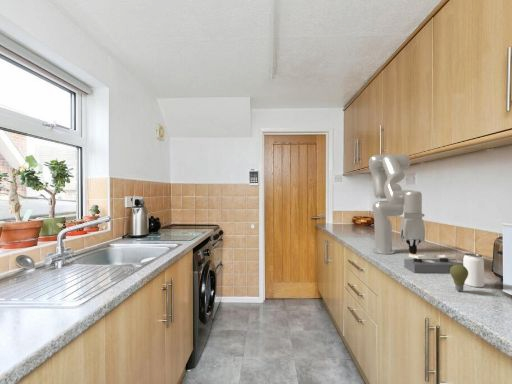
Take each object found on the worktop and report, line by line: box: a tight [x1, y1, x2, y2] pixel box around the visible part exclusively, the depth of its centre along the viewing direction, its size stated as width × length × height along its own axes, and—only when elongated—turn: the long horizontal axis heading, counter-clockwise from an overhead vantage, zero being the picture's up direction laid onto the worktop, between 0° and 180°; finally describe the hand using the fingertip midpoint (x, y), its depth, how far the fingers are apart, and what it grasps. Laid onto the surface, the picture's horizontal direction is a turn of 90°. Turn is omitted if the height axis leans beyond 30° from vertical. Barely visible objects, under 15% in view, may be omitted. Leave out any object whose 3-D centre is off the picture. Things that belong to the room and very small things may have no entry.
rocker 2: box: [433, 254, 455, 259], centre depth 131 cm, size 9×4×1 cm, turn 176°
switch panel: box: [403, 257, 463, 274], centre depth 131 cm, size 10×24×6 cm, turn 86°
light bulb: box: [449, 264, 468, 292], centre depth 104 cm, size 6×6×10 cm
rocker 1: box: [408, 253, 428, 259], centre depth 132 cm, size 9×4×1 cm, turn 176°
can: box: [462, 252, 485, 289], centre depth 110 cm, size 6×6×12 cm
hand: (412, 253), depth 137 cm, fingers closed
